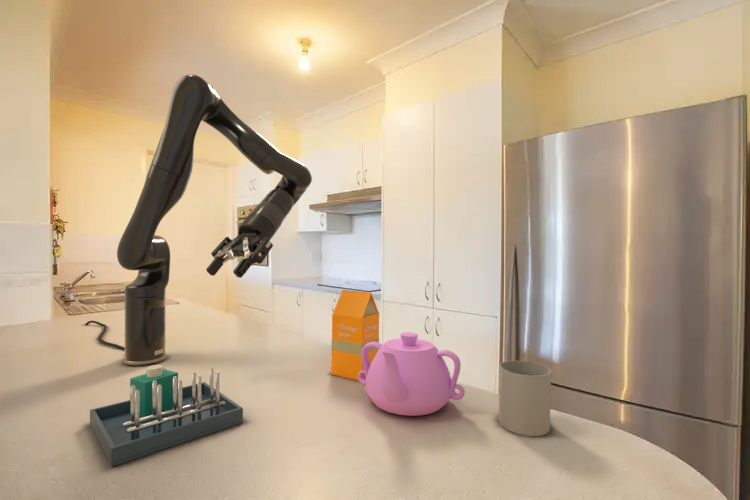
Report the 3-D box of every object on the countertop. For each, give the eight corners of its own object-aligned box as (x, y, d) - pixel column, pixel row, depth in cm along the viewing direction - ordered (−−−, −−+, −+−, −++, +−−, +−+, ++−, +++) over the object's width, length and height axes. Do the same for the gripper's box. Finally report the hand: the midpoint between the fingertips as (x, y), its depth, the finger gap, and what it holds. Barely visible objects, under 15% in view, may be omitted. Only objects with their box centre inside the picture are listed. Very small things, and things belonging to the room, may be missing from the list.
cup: (547, 418, 70) (548, 363, 70) (552, 439, 62) (553, 378, 62) (499, 410, 72) (499, 358, 72) (498, 430, 65) (499, 372, 64)
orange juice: (361, 381, 87) (362, 294, 87) (330, 374, 92) (331, 291, 91) (379, 372, 94) (380, 290, 93) (349, 365, 98) (350, 288, 98)
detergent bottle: (130, 418, 66) (130, 369, 66) (163, 405, 72) (163, 360, 72) (144, 424, 64) (144, 374, 64) (178, 410, 70) (178, 364, 69)
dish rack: (122, 442, 58) (122, 386, 58) (218, 413, 68) (218, 365, 68) (127, 451, 56) (127, 392, 56) (225, 419, 66) (226, 370, 66)
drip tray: (89, 424, 65) (89, 409, 65) (204, 394, 79) (204, 381, 79) (111, 467, 53) (111, 448, 53) (242, 422, 67) (242, 407, 66)
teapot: (327, 420, 68) (327, 343, 67) (373, 380, 88) (374, 320, 88) (451, 446, 59) (452, 358, 59) (470, 395, 79) (471, 329, 79)
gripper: (233, 212, 93) (190, 261, 83) (277, 210, 86) (236, 263, 76) (249, 235, 98) (211, 283, 88) (292, 234, 91) (256, 287, 81)
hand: (222, 274), depth 82 cm, fingers open, 8 cm apart
